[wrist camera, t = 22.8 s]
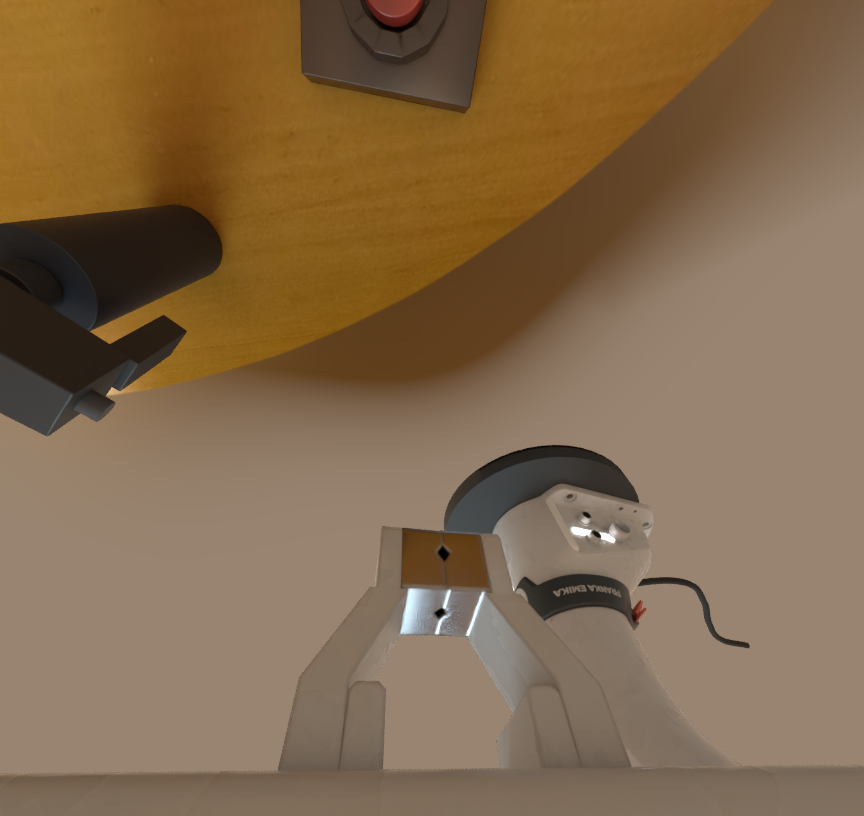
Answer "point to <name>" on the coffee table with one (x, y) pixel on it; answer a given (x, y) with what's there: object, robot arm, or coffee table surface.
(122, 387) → the block
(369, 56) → the button block
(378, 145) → the coffee table surface
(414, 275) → the coffee table surface
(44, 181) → the coffee table surface
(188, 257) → the spray bottle
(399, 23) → the button
